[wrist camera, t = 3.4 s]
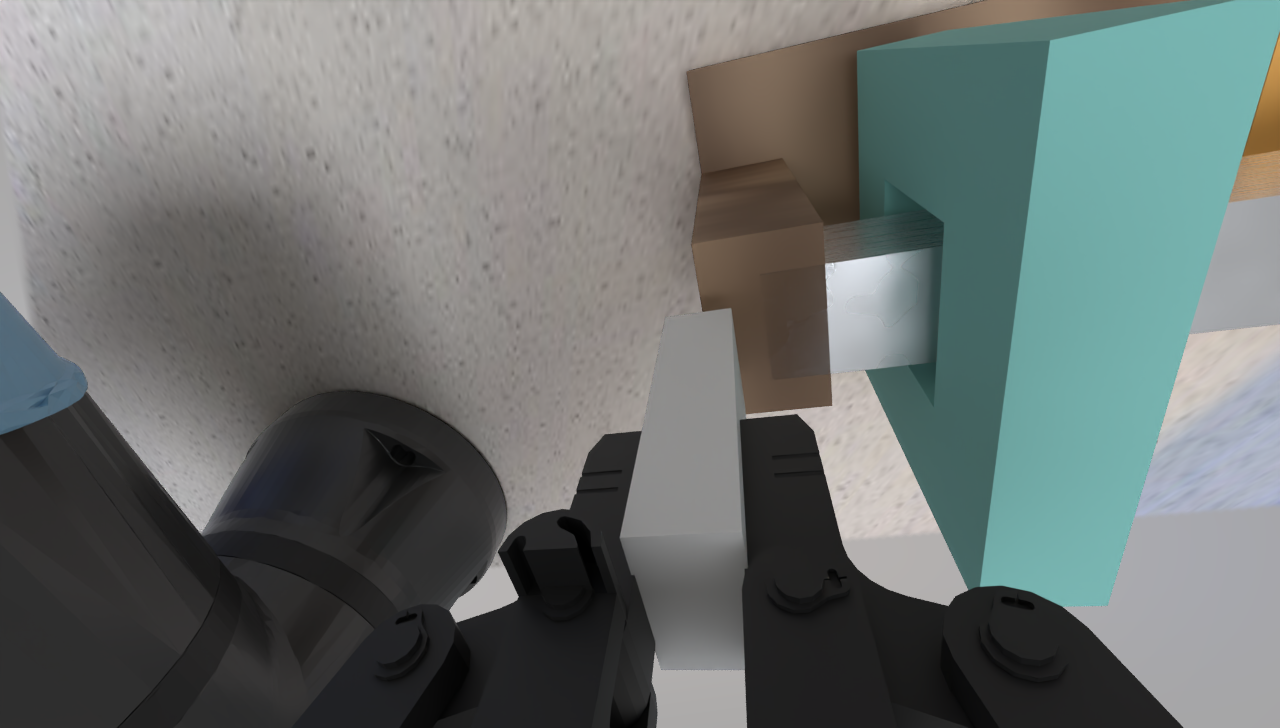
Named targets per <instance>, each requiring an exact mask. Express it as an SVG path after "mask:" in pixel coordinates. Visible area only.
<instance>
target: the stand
mask: <svg viewBox="0 0 1280 728" xmlns="http://www.w3.org/2000/svg"><path fill="white" fill-rule="evenodd" d="M1181 1H1189V0H985V1H981V2H977V3H972V4H968V5H964V6H960V7H956V8H951V9H947V10H943V11H939V12H934V13H930V14H926V15H922V16H918V17H913V18H909V19H905V20H901V21H896V22H892V23H888V24H884V25H880V26H875V27H871V28H867V29H863V30H858V31H854V32H850V33H846V34H841V35H837V36H833V37H829V38H825V39H820V40H816V41H812V42H808V43H803V44H799V45H795V46H791V47H787V48H782V49H778V50H774V51H770V52H765V53H761V54H757V55H753V56H749V57H744V58H740V59H736V60H732V61H727V62H723V63H719V64H715V65H711V66H706V67H702V68H698V69H694V70H689V71H687V79H688V86H689V92H690V99H691V106H692V113H693V119H694V126H695V133H696V139H697V146H698V153H699V159H700V166H701V173H702V175H701V181H700V188H699V195H698V202H697V209H696V215H695V222H694V229H693V236H692V242H691V246H692V252H693V258H694V264H695V270H696V276H697V282H698V287H699V293H700V299H701V305H702V311H703V312H706V311H713V310H720V309H727V308H731V310H732V317H733V325H734V332H735V339H736V346H737V353H738V360H739V367H740V375H741V382H742V389H743V396H744V403H745V412H746V414H752V413H762V412H772V411H783V410H793V409H803V408H813V407H823V406H832V392H831V372H829V371H830V366H829V365H830V353H829V336H828V335H829V334H828V335H825V334H827V333H829V331H828V327H827V326H828V319H827V318H828V311H827V295H826V294H827V291H826V274H825V273H826V270H825V250H824V230H823V226H828V225H834V224H840V223H846V222H852V221H858V220H860V201H859V143H858V85H857V51H859V50H863V49H867V48H872V47H876V46H880V45H885V44H889V43H893V42H898V41H902V40H906V39H911V38H915V37H920V36H924V35H928V34H933V33H937V32H941V31H946V30H953V29H961V28H969V27H977V26H985V25H994V24H1002V23H1010V22H1018V21H1026V20H1034V19H1042V18H1051V17H1059V16H1067V15H1075V14H1083V13H1091V12H1099V11H1107V10H1116V9H1124V8H1132V7H1140V6H1148V5H1156V4H1164V3H1173V2H1181ZM817 265H818V266H817ZM822 267H823V268H822ZM806 268H807V269H806ZM813 268H814V269H813ZM790 269H792V270H790ZM803 269H804V270H803ZM811 269H812V270H811ZM786 270H787V271H786ZM777 271H780V272H779V273H778V272H777ZM781 271H783V272H781ZM773 272H774V273H773ZM800 272H801V273H800ZM823 272H824V273H823ZM771 273H772V275H771ZM813 273H814V274H813ZM762 274H763V275H762ZM794 274H795V275H794ZM804 274H805V275H804ZM811 274H812V275H811ZM761 275H762V276H761ZM789 275H790V276H789ZM799 275H800V276H799ZM810 275H811V276H810ZM813 275H814V276H813ZM824 275H825V276H824ZM782 276H783V277H782ZM798 276H799V277H798ZM821 276H822V277H821ZM812 277H813V278H814V279H813V278H812ZM818 277H819V278H818ZM776 278H777V279H776ZM790 278H791V279H790ZM802 278H803V279H802ZM766 279H767V280H766ZM794 279H795V280H794ZM799 279H800V280H799ZM810 279H812V280H810ZM817 279H819V280H817ZM806 280H807V281H806ZM814 280H815V281H814ZM772 281H773V282H772ZM794 281H795V282H794ZM804 281H805V282H804ZM811 281H812V282H811ZM817 281H818V282H817ZM768 282H769V283H770V284H769V283H768ZM814 282H815V283H814ZM820 282H821V283H822V284H821V283H820ZM811 283H812V284H811ZM818 283H819V284H818ZM775 284H776V285H775ZM810 284H811V285H810ZM814 284H815V285H816V286H815V285H814ZM769 285H770V286H769ZM791 285H792V286H791ZM818 285H819V286H818ZM784 286H785V287H784ZM802 286H803V287H804V288H803V287H802ZM790 287H791V289H790ZM817 287H818V288H817ZM823 287H824V288H823ZM802 288H803V289H802ZM807 288H808V289H807ZM821 288H822V289H821ZM810 289H811V290H810ZM820 289H821V290H822V291H821V290H820ZM823 289H824V290H823ZM799 290H800V291H799ZM801 290H803V291H801ZM804 290H805V291H804ZM808 290H809V291H810V292H808ZM814 290H815V291H817V292H818V293H817V292H815V291H814ZM818 290H819V291H818ZM796 291H797V292H796ZM768 292H769V293H768ZM800 292H801V293H800ZM806 292H807V293H808V294H806ZM820 292H821V293H822V294H821V293H820ZM819 293H820V294H819ZM824 293H825V295H824ZM771 294H772V295H771ZM812 294H813V295H812ZM791 295H792V296H791ZM801 295H802V296H801ZM816 295H817V296H816ZM821 295H823V296H821ZM782 296H783V297H782ZM803 296H804V298H803ZM805 296H806V297H805ZM809 296H810V297H809ZM792 297H794V298H792ZM798 297H800V298H798ZM819 297H820V298H822V299H820V298H819ZM787 298H788V299H787ZM808 298H809V299H808ZM785 299H786V300H785ZM796 299H797V300H796ZM818 299H819V300H818ZM766 300H767V301H766ZM793 300H794V301H793ZM801 300H802V301H801ZM824 300H825V301H824ZM816 301H818V302H816ZM822 301H823V302H822ZM772 302H773V303H772ZM783 302H784V303H783ZM806 302H807V303H806ZM812 302H814V303H812ZM819 302H820V304H819ZM802 303H804V304H802ZM810 303H811V304H812V305H811V304H810ZM816 303H817V304H816ZM821 303H822V304H823V305H822V304H821ZM824 303H825V304H824ZM788 304H789V305H788ZM791 304H792V305H791ZM805 304H806V305H807V304H808V305H807V306H806V305H805ZM818 304H819V305H818ZM774 305H775V306H774ZM817 305H818V306H817ZM802 306H804V307H802ZM824 306H825V307H826V308H825V307H824ZM773 307H774V308H773ZM821 307H822V308H821ZM790 308H791V309H790ZM796 308H797V309H796ZM812 308H813V309H812ZM818 308H819V310H817V309H818ZM771 309H772V310H771ZM795 309H796V310H795ZM804 309H806V310H804ZM810 309H811V310H810ZM822 309H823V310H822ZM824 309H825V310H824ZM800 310H801V311H800ZM777 311H778V312H777ZM787 311H788V312H787ZM791 311H792V312H791ZM809 311H811V312H809ZM812 311H813V312H814V313H813V312H812ZM818 311H819V312H820V313H819V312H818ZM821 311H823V312H821ZM784 312H785V313H784ZM800 312H801V313H800ZM808 312H809V313H810V314H809V316H808ZM781 313H782V314H781ZM797 313H798V314H797ZM825 313H826V314H825ZM819 314H820V315H819ZM822 314H823V316H822ZM824 314H825V315H826V316H825V315H824ZM783 315H784V316H783ZM791 315H792V316H791ZM797 315H798V316H797ZM811 315H812V316H811ZM768 316H769V317H768ZM806 316H807V317H806ZM810 316H811V317H810ZM822 317H823V318H822ZM800 318H801V319H800ZM805 318H806V319H805ZM819 318H820V319H819ZM781 319H782V320H781ZM796 319H797V320H796ZM826 319H827V320H826ZM798 320H799V321H798ZM806 320H807V321H806ZM819 320H820V322H819V323H818V321H819ZM791 321H792V323H791ZM797 321H798V322H797ZM822 321H823V322H822ZM813 322H814V323H813ZM825 322H826V323H825ZM771 323H772V324H771ZM778 323H779V324H778ZM781 323H782V324H781ZM789 323H790V324H789ZM801 323H802V324H801ZM822 323H823V324H822ZM788 324H789V325H788ZM793 324H794V325H793ZM797 324H798V325H797ZM807 324H808V325H809V326H808V325H807ZM811 324H812V325H811ZM818 324H819V325H818ZM806 325H807V327H806ZM816 325H817V327H816ZM823 325H824V326H823ZM814 326H815V328H816V329H815V328H814V329H813V331H812V328H813V327H814ZM775 327H776V328H775ZM786 327H787V328H786ZM793 327H794V328H793ZM821 327H822V328H821ZM826 327H827V328H826ZM785 328H786V329H785ZM824 328H826V329H825V330H826V331H825V330H824ZM774 329H775V330H774ZM791 329H792V330H791ZM803 329H804V330H803ZM805 329H806V330H805ZM809 330H811V331H809ZM821 330H823V331H821ZM767 331H769V332H767ZM797 331H798V332H797ZM807 331H808V332H807ZM783 332H784V333H783ZM790 332H791V333H790ZM800 332H801V333H800ZM806 332H807V333H806ZM773 333H774V334H773ZM785 333H786V334H785ZM789 333H790V334H789ZM816 333H818V334H817V336H815V335H816ZM769 334H770V335H771V337H768V336H770V335H769ZM820 334H821V335H820ZM783 335H784V336H783ZM791 335H792V336H791ZM807 335H808V336H807ZM822 335H824V336H822ZM786 336H787V337H786ZM788 336H789V337H788ZM819 336H821V337H820V338H819V339H818V340H816V339H817V337H819ZM774 337H775V338H774ZM796 337H797V340H795V339H796ZM808 337H809V338H808ZM810 337H812V338H810ZM815 337H816V338H815ZM824 337H825V338H824ZM798 338H799V339H798ZM801 338H802V339H801ZM813 338H814V339H813ZM773 339H774V340H773ZM787 339H788V340H789V339H790V340H789V341H788V340H787ZM806 339H807V340H806ZM811 339H813V340H811ZM822 339H823V340H822ZM827 339H828V341H826V340H827ZM778 340H779V341H778ZM805 340H806V341H805ZM821 340H822V341H823V342H822V341H821ZM783 341H784V342H783ZM824 341H825V342H828V343H825V342H824ZM773 342H775V343H773ZM790 342H791V343H790ZM819 342H820V343H821V342H822V344H821V345H820V344H819ZM803 343H804V344H803ZM824 343H825V344H824ZM777 344H778V345H777ZM798 344H799V345H798ZM801 344H802V345H801ZM811 344H812V345H811ZM789 345H790V346H789ZM804 345H805V346H807V347H805V346H804ZM817 345H818V346H817ZM799 346H800V347H799ZM801 346H802V347H801ZM811 346H812V347H811ZM816 346H817V347H818V349H817V347H816ZM823 346H824V347H823ZM772 347H773V348H772ZM783 347H784V349H783ZM795 347H797V348H795ZM815 347H816V349H815ZM822 347H823V348H824V350H826V348H827V349H828V350H827V351H826V352H825V351H824V350H822V349H823V348H822ZM776 348H777V349H776ZM812 348H813V349H812ZM820 348H821V349H820ZM791 349H792V351H791ZM793 349H794V351H793ZM785 350H786V351H785ZM809 350H811V351H809ZM820 350H821V352H822V351H823V352H822V353H821V352H820ZM781 351H782V352H781ZM804 351H805V352H804ZM790 352H791V353H790ZM797 352H798V353H797ZM801 352H802V353H801ZM808 352H809V353H808ZM813 352H814V354H817V353H818V354H819V355H818V354H817V355H813ZM819 352H820V353H819ZM784 353H785V354H784ZM799 353H800V354H799ZM826 353H827V354H826ZM828 353H829V354H828ZM773 354H774V355H773ZM793 354H794V355H793ZM807 354H808V355H807ZM783 355H784V356H783ZM804 355H805V356H804ZM822 355H824V356H823V357H821V356H822ZM790 356H791V357H790ZM792 356H793V357H792ZM801 356H802V357H801ZM827 356H828V357H827ZM799 357H800V358H799ZM810 357H811V358H810ZM824 357H825V358H826V359H825V358H824ZM772 358H773V359H772ZM780 358H781V359H780ZM787 358H788V359H787ZM797 358H798V359H797ZM805 358H806V359H805ZM812 358H813V360H812ZM819 358H820V359H821V358H822V359H821V360H819ZM775 359H776V360H775ZM786 359H787V360H786ZM809 359H810V360H809ZM814 359H815V360H817V361H815V360H814ZM777 360H778V361H777ZM785 360H786V361H785ZM796 360H797V361H796ZM772 361H773V362H772ZM792 361H793V362H792ZM801 361H802V362H801ZM828 361H829V362H828ZM771 362H772V363H773V364H771ZM780 362H781V363H780ZM809 362H810V363H811V362H812V363H813V364H812V363H811V364H810V363H809ZM805 363H806V364H805ZM822 363H823V364H822ZM827 363H829V365H828V364H827ZM798 364H799V366H800V367H799V366H798ZM803 364H804V365H805V366H804V365H803ZM816 364H817V365H818V367H816V366H817V365H816ZM821 364H822V365H821ZM825 364H826V365H825ZM787 365H788V366H787ZM790 365H791V366H790ZM794 365H795V366H794ZM796 365H797V367H796ZM808 365H809V366H810V367H808ZM774 366H775V367H774ZM784 366H785V367H784ZM801 366H802V367H801ZM777 367H778V368H777ZM791 367H792V368H791ZM805 367H806V368H805ZM824 367H825V368H827V367H828V368H829V369H828V368H827V369H828V370H827V369H825V368H824ZM785 368H786V369H785ZM793 368H794V369H793ZM803 368H804V369H803ZM810 368H814V369H815V370H814V369H810ZM818 368H820V369H818ZM780 369H781V370H780ZM801 369H802V370H801ZM822 369H824V370H822ZM792 370H793V371H794V372H793V371H792ZM800 370H801V371H803V372H800ZM816 370H817V371H816ZM820 370H821V371H822V373H821V371H820ZM825 370H826V371H825ZM788 371H789V372H788ZM808 371H809V372H808ZM814 371H815V372H814ZM776 372H777V373H776ZM787 372H788V373H789V374H790V375H789V374H788V373H787ZM797 372H798V373H799V374H798V373H797ZM811 372H812V373H811ZM780 373H781V374H780ZM802 373H803V374H802ZM816 373H817V374H816ZM823 373H825V374H823ZM826 373H830V374H826ZM775 374H776V375H775ZM778 374H779V375H778ZM795 374H797V375H795ZM807 374H808V375H809V376H808V375H807ZM814 374H815V375H814ZM783 375H784V376H785V375H786V376H785V377H784V376H783ZM794 375H795V376H794ZM804 375H806V377H805V376H804ZM812 375H813V376H812ZM777 376H778V377H779V378H778V377H777ZM787 376H788V377H789V378H788V377H787ZM791 376H792V377H791ZM794 377H795V378H794Z"/></svg>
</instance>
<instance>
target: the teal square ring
mask: <svg viewBox="0 0 1280 728" xmlns="http://www.w3.org/2000/svg"><path fill="white" fill-rule="evenodd" d="M1279 32H1280V0H1189V1H1181V2H1173V3H1164V4H1156V5H1148V6H1140V7H1132V8H1124V9H1116V10H1107V11H1099V12H1091V13H1083V14H1075V15H1067V16H1059V17H1051V18H1042V19H1034V20H1026V21H1018V22H1010V23H1002V24H994V25H985V26H977V27H969V28H961V29H953V30H946V31H941V32H937V33H933V34H928V35H924V36H920V37H915V38H911V39H906V40H902V41H898V42H893V43H889V44H885V45H880V46H876V47H872V48H867V49H863V50H859V51H857V85H858V143H859V201H860V220H864V219H870V218H876V217H882V216H888V215H894V214H900V213H906V212H912V211H918V210H924V209H926V210H927V211H929V212H930V213H932V214H933V215H934V216H936V217H937V218H938V219H940V220H941V221H943V222H944V237H943V255H942V272H941V290H940V308H939V325H938V343H937V361H936V362H933V363H924V364H915V365H906V366H897V367H887V368H878V369H869V370H865V371H866V373H867V375H868V377H869V379H870V381H871V384H872V386H873V388H874V390H875V392H876V394H877V396H878V398H879V401H880V403H881V405H882V407H883V409H884V411H885V413H886V416H887V418H888V420H889V422H890V424H891V426H892V428H893V430H894V433H895V435H896V437H897V439H898V441H899V443H900V445H901V447H902V450H903V452H904V454H905V456H906V458H907V460H908V462H909V464H910V467H911V469H912V471H913V473H914V475H915V477H916V479H917V481H918V484H919V486H920V488H921V490H922V492H923V494H924V496H925V499H926V501H927V503H928V505H929V507H930V509H931V511H932V513H933V516H934V518H935V520H936V522H937V524H938V526H939V528H940V530H941V533H942V535H943V537H944V539H945V541H946V543H947V545H948V547H949V550H950V552H951V554H952V556H953V558H954V560H955V562H956V564H957V566H958V569H959V571H960V573H961V575H962V577H963V579H964V582H965V584H966V586H967V588H968V590H970V589H972V588H975V587H984V586H1001V585H1002V586H1007V587H1011V588H1016V589H1021V590H1025V591H1030V592H1033V593H1035V594H1037V595H1039V596H1041V597H1043V598H1045V599H1047V600H1050V601H1052V602H1054V603H1056V604H1058V605H1060V606H1062V607H1064V606H1107V605H1108V603H1109V599H1110V596H1111V592H1112V589H1113V586H1114V582H1115V579H1116V576H1117V572H1118V569H1119V566H1120V562H1121V559H1122V556H1123V552H1124V549H1125V546H1126V542H1127V539H1128V536H1129V532H1130V529H1131V526H1132V522H1133V519H1134V516H1135V512H1136V509H1137V506H1138V502H1139V499H1140V496H1141V492H1142V489H1143V486H1144V482H1145V479H1146V476H1147V472H1148V469H1149V466H1150V462H1151V459H1152V456H1153V452H1154V449H1155V446H1156V442H1157V439H1158V436H1159V432H1160V429H1161V426H1162V422H1163V419H1164V416H1165V412H1166V409H1167V406H1168V402H1169V399H1170V396H1171V392H1172V389H1173V386H1174V382H1175V379H1176V376H1177V372H1178V369H1179V365H1180V362H1181V359H1182V355H1183V352H1184V349H1185V345H1186V342H1187V339H1188V335H1189V332H1190V329H1191V325H1192V322H1193V319H1194V315H1195V312H1196V309H1197V305H1198V302H1199V299H1200V295H1201V292H1202V289H1203V285H1204V282H1205V279H1206V275H1207V272H1208V269H1209V265H1210V262H1211V259H1212V255H1213V252H1214V249H1215V245H1216V242H1217V239H1218V235H1219V232H1220V229H1221V225H1222V222H1223V219H1224V215H1225V212H1226V209H1227V205H1228V202H1229V199H1230V195H1231V192H1232V189H1233V185H1234V182H1235V179H1236V175H1237V172H1238V169H1239V165H1240V162H1241V159H1242V155H1243V152H1244V149H1245V145H1246V142H1247V138H1248V135H1249V132H1250V128H1251V125H1252V122H1253V118H1254V115H1255V112H1256V108H1257V105H1258V102H1259V98H1260V95H1261V92H1262V88H1263V85H1264V82H1265V78H1266V75H1267V72H1268V68H1269V65H1270V62H1271V58H1272V55H1273V52H1274V48H1275V45H1276V42H1277V38H1278V35H1279Z"/></svg>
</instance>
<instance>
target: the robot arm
mask: <svg viewBox="0 0 1280 728" xmlns="http://www.w3.org/2000/svg"><path fill="white" fill-rule="evenodd" d="M87 389H88V383H87V380H86V377H85V375H84V373H83V371H82V370H81V369H80V368H79V367H78V366H77V365H76V364H75V363H73V362H71V361H69V360H66V359H64V358H62V357H59V356H58V355H57V354H56V353H55V352H54V351H53V349H52V348H51V347H50V346H49V345H48V344H47V343H46V342H45V341H44V339H43V338H42V337H41V336H40V335H39V334H38V333H37V332H36V331H35V330H34V328H33V327H32V326H31V325H30V324H29V323H28V322H27V321H26V320H25V319H24V317H23V316H22V315H21V314H20V313H19V312H18V311H17V310H16V308H15V307H14V306H13V305H12V304H11V303H10V302H9V301H8V300H7V299H6V297H5V296H4V295H3V294H2V293H1V292H0V728H656V724H657V702H656V694H655V691H654V688H653V685H652V682H651V681H652V672H653V663H654V662H653V661H654V653H655V652H656V655H657V658H658V662H659V665H660V668H661V670H745V683H746V684H745V685H746V710H747V728H1183V727H1182V726H1181V725H1180V723H1179V722H1178V721H1177V720H1176V719H1175V718H1174V717H1173V716H1172V715H1171V714H1170V713H1169V712H1168V711H1167V710H1166V709H1165V708H1164V707H1163V706H1162V705H1161V704H1160V703H1159V701H1158V700H1157V699H1156V698H1154V696H1153V695H1152V694H1151V693H1150V692H1149V691H1148V690H1147V689H1146V688H1145V687H1144V686H1143V685H1142V684H1141V683H1140V682H1139V681H1138V679H1137V678H1136V677H1135V676H1134V675H1133V674H1132V673H1131V672H1130V671H1129V670H1128V669H1127V668H1126V667H1125V666H1124V665H1123V664H1122V663H1121V662H1120V661H1119V660H1118V659H1117V657H1116V656H1115V655H1114V654H1113V653H1112V652H1111V651H1110V650H1109V649H1108V648H1107V647H1106V646H1105V645H1104V644H1103V643H1102V642H1101V641H1100V640H1099V639H1098V638H1097V637H1096V635H1094V634H1093V632H1092V631H1091V630H1090V629H1089V628H1088V627H1087V626H1085V625H1084V624H1083V623H1082V622H1080V621H1079V620H1078V619H1077V618H1076V617H1074V616H1073V615H1072V614H1071V613H1069V612H1068V611H1067V610H1066V609H1064V608H1063V607H1062V606H1060V605H1058V604H1056V603H1054V602H1052V601H1050V600H1047V599H1045V598H1043V597H1041V596H1039V595H1037V594H1035V593H1033V592H1030V591H1025V590H1021V589H1016V588H1011V587H1007V586H1002V585H1001V586H984V587H975V588H972V589H970V590H968V591H966V592H964V593H962V594H960V595H958V596H955V598H954V599H953V601H952V602H951V604H950V605H949V606H946V605H941V604H937V603H933V602H929V601H925V600H921V599H917V598H912V597H908V596H905V595H902V594H899V593H896V592H893V591H890V590H888V589H886V588H884V587H882V586H880V585H878V584H877V583H875V582H873V581H871V580H870V579H868V578H867V577H866V576H865V575H864V574H863V573H861V572H860V571H859V570H858V569H857V568H856V567H855V566H854V565H853V563H852V562H851V560H850V559H849V558H848V556H847V554H846V551H845V549H844V547H843V544H842V540H841V536H840V532H839V529H838V525H837V521H836V517H835V513H834V509H833V505H832V501H831V497H830V493H829V489H828V485H827V481H826V477H825V474H824V469H823V465H822V462H821V458H820V455H819V450H818V446H817V442H816V438H815V434H814V431H813V430H812V429H811V428H810V427H809V426H808V425H807V424H806V423H805V422H804V421H803V420H802V419H801V418H800V417H799V416H798V415H797V414H795V415H784V416H774V417H764V418H753V419H746V412H745V403H744V396H743V389H742V382H741V375H740V367H739V360H738V353H737V346H736V339H735V332H734V325H733V317H732V310H731V308H727V309H720V310H713V311H706V312H699V313H691V314H684V315H677V316H670V317H665V322H664V327H663V331H662V336H661V341H660V346H659V351H658V355H657V360H656V365H655V370H654V375H653V380H652V384H651V389H650V394H649V399H648V404H647V409H646V413H645V418H644V423H643V428H642V431H637V432H626V433H616V434H605V435H604V436H603V437H602V438H601V439H600V441H599V442H598V443H597V444H596V445H595V446H594V447H593V448H592V450H591V451H590V452H589V453H588V456H587V459H586V462H585V465H584V468H583V471H582V477H580V480H579V483H578V486H577V489H576V491H577V494H575V496H574V499H573V502H572V505H571V508H570V510H566V509H561V510H556V511H551V512H546V513H542V514H540V515H538V516H536V517H534V518H532V519H530V520H528V521H526V522H524V523H523V524H522V525H521V526H519V527H518V528H517V529H516V530H515V531H513V532H512V533H511V534H510V535H509V536H508V537H507V539H506V540H505V542H504V543H503V545H502V546H501V548H500V549H499V551H498V553H499V555H500V558H501V560H502V562H503V564H504V566H505V568H506V570H507V572H508V575H509V577H510V579H511V581H512V583H513V585H514V587H515V590H516V592H517V594H518V596H519V598H518V600H517V601H515V602H514V603H511V604H509V605H507V606H504V607H502V608H500V609H497V610H494V611H491V612H488V613H485V614H482V615H479V616H476V617H473V618H470V619H467V620H464V621H460V622H457V623H456V622H455V620H454V619H453V617H452V615H451V613H450V611H449V610H450V608H451V607H452V606H453V604H454V603H455V601H456V600H457V599H458V598H459V597H461V596H463V595H464V594H465V593H467V592H468V591H469V590H471V589H472V588H473V587H474V586H475V585H476V584H477V583H478V582H479V580H480V579H481V578H482V577H483V576H484V574H485V573H486V571H487V570H488V568H489V567H490V565H491V562H492V560H493V558H494V556H495V554H496V551H497V549H498V547H499V545H500V543H501V540H502V538H503V535H504V533H505V528H506V521H507V513H506V505H505V500H504V496H503V493H502V490H501V487H500V485H499V483H498V481H497V479H496V477H495V475H494V473H493V472H492V470H491V469H490V467H489V466H488V464H487V463H486V461H485V460H484V459H483V458H482V456H481V455H480V454H479V453H478V452H477V451H476V449H475V448H474V447H473V446H472V445H471V444H470V443H469V442H468V441H466V440H465V439H464V438H463V437H462V436H461V435H460V434H458V433H457V432H456V431H455V430H453V429H452V428H451V427H449V426H448V425H446V424H445V423H443V422H442V421H440V420H439V419H437V418H435V417H434V416H432V415H430V414H428V413H426V412H424V411H422V410H420V409H418V408H416V407H414V406H411V405H409V404H407V403H404V402H401V401H398V400H395V399H392V398H389V397H385V396H381V395H376V394H370V393H363V392H331V393H325V394H320V395H317V396H313V397H311V398H308V399H306V400H303V401H301V402H299V403H298V404H296V405H295V406H293V407H292V408H291V409H289V410H288V411H287V412H286V413H284V414H283V415H282V416H281V417H279V418H278V419H277V420H276V421H275V422H273V423H272V424H271V425H270V426H269V427H267V428H266V429H265V430H264V431H263V432H262V433H261V434H260V435H259V437H258V438H257V439H256V440H255V441H254V443H253V444H252V446H251V448H250V449H249V451H248V453H247V456H246V459H245V460H244V462H243V463H242V465H241V467H240V468H239V470H238V471H237V473H236V475H235V476H234V478H233V480H232V481H231V483H230V485H229V486H228V488H227V490H226V491H225V493H224V495H223V497H222V498H221V500H220V502H219V504H218V506H217V507H216V509H215V511H214V513H213V514H212V516H211V518H210V520H209V522H208V523H207V525H206V527H205V528H204V530H203V531H202V532H201V534H200V533H199V531H198V530H197V529H196V528H195V526H194V525H193V524H192V523H191V521H190V520H189V519H188V518H187V516H186V515H185V514H184V513H183V511H182V510H181V509H180V508H179V506H178V505H177V504H176V503H175V501H174V500H173V499H172V498H171V496H170V495H169V494H168V493H167V491H166V490H165V489H164V488H163V486H162V485H161V484H160V483H159V481H158V480H157V479H156V478H155V476H154V475H153V474H152V473H151V471H150V470H149V469H148V468H147V466H146V465H145V464H144V463H143V461H142V460H141V459H140V458H139V456H138V455H137V454H136V453H135V452H134V450H133V449H132V448H131V447H130V445H129V444H128V443H127V442H126V440H125V439H124V438H123V437H122V435H121V434H120V433H119V432H118V430H117V429H116V428H115V427H114V425H113V424H112V423H111V422H110V420H109V419H108V418H107V417H106V415H105V414H104V413H103V412H102V410H101V409H100V408H99V407H98V405H97V404H96V403H95V402H94V400H93V399H92V398H91V397H90V395H89V394H88V393H87V392H86V390H87Z"/></svg>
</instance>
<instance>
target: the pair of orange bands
mask: <svg viewBox="0 0 1280 728" xmlns="http://www.w3.org/2000/svg"><path fill="white" fill-rule="evenodd" d="M1279 150H1280V32H1279V35H1278V38H1277V42H1276V45H1275V48H1274V52H1273V55H1272V58H1271V62H1270V65H1269V68H1268V72H1267V75H1266V78H1265V82H1264V85H1263V88H1262V92H1261V95H1260V98H1259V102H1258V105H1257V108H1256V112H1255V115H1254V118H1253V122H1252V125H1251V128H1250V132H1249V135H1248V138H1247V142H1246V145H1245V149H1244V152H1243V155H1242V157H1243V156H1249V155H1255V154H1261V153H1267V152H1273V151H1279Z"/></svg>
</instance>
